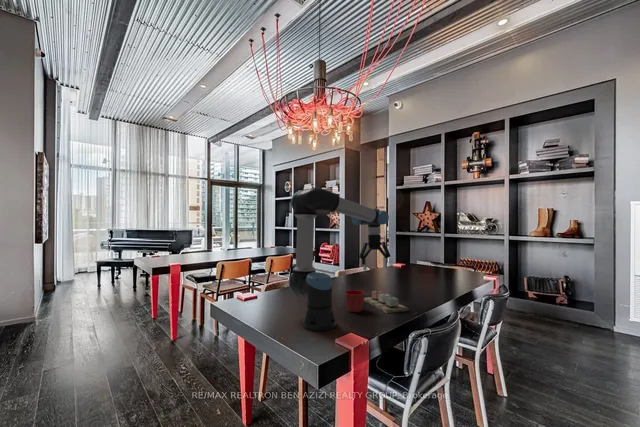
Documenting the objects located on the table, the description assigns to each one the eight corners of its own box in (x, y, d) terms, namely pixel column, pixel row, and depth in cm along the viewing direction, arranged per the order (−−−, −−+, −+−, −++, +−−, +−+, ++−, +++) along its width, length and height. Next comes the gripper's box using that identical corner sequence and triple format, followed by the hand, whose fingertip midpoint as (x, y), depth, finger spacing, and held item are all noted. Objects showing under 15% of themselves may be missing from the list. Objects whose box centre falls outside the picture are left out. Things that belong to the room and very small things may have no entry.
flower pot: (341, 311, 152) (341, 293, 153) (349, 306, 162) (349, 289, 162) (360, 314, 147) (360, 295, 148) (367, 308, 157) (367, 290, 157)
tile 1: (390, 301, 162) (390, 295, 162) (382, 302, 160) (382, 295, 161) (386, 299, 167) (385, 293, 167) (378, 300, 165) (378, 293, 165)
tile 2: (398, 305, 154) (398, 298, 154) (390, 306, 153) (390, 299, 153) (393, 303, 159) (393, 296, 159) (385, 304, 158) (385, 297, 158)
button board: (408, 310, 153) (408, 307, 153) (386, 313, 149) (386, 310, 149) (382, 298, 178) (382, 296, 178) (363, 300, 174) (363, 297, 174)
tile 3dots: (383, 298, 170) (383, 291, 170) (375, 299, 168) (375, 292, 168) (379, 296, 174) (379, 290, 174) (371, 297, 173) (371, 290, 173)
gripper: (389, 233, 180) (389, 267, 179) (352, 234, 173) (353, 269, 172) (395, 233, 173) (396, 268, 172) (358, 234, 165) (359, 271, 165)
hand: (375, 269), depth 172 cm, fingers open, 13 cm apart
